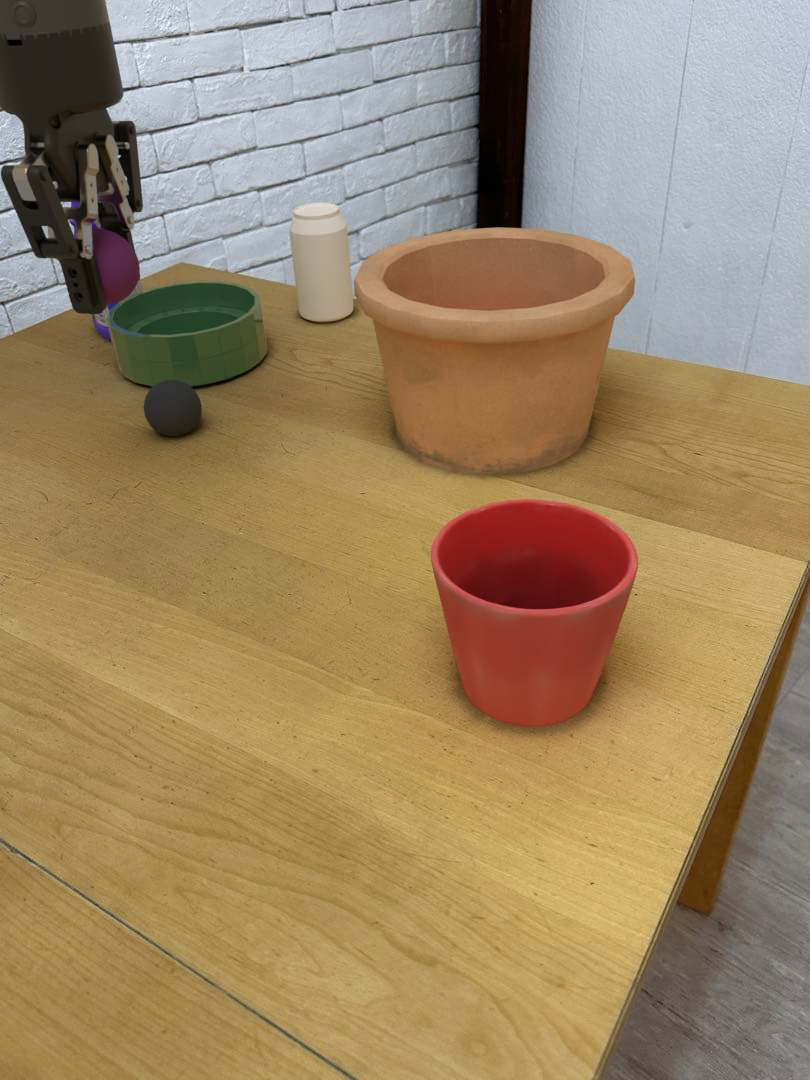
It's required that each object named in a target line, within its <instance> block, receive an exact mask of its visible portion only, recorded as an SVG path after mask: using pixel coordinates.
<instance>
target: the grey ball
mask: <svg viewBox="0 0 810 1080" xmlns="http://www.w3.org/2000/svg"><path fill="white" fill-rule="evenodd" d="M143 401H144V402H143V413H144V417H145V419H146V421H147V423H148V425H149V426H150V427H151V428H152V429H153V430H154V431H155V432H157V433H159V434H160V435H163V436H166V437H171V438H172V437H173V438H174V437H182V436H184V435H187V434H189V433H190V432H192V431H193V430H194V429H195V428H196V427H197V425H198V424H199V422H200V420H201V417H202V413H203V406H202V401H201V398H200V396H199V394H198V393H197V391H196V390H195V388H193V386H189V385H188V384H186V383H184V382H182V381H178V380H165V381H162V382H159V383H157V384H156V385H154V386H151V388H150V389H149V390H148V392H147V394H146V395H145V398H144V400H143Z"/></svg>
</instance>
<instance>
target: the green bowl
mask: <svg viewBox="0 0 810 1080" xmlns="http://www.w3.org/2000/svg"><path fill="white" fill-rule="evenodd" d="M106 320H107V324H108V329H109V333H110V337H111V341H110V342H111V344H112V348H113V352H114V357H115V360H116V364H117V368H118V370H119V371H120V373H121V375H122V376H123V377H124V378H125V379H128V380H129V381H131V382H133V383H135V384H140V385H144V386H150V387H153V386H154V385H156V384H157V383H159V382H162V381H165V380H178V381H182V382H184V383H186V384H188V385H189V386H191V387H196V386H197V387H198V386H205V385H209V384H214V383H217V382H222V381H227V380H229V379H231V378H234V377H236V376H238V375H241V374H244V373H246V372H248V371H249V370H251V369H253V367H255V366H257V365H258V364H259V363H261V362H262V361H263V359H264V358H265V356H266V355H267V354H268V341H267V334H266V333H267V332H266V326H265V321H264V320H265V319H264V312H263V305H262V298H261V295H260V294H259V293H258V292H256V291H255V289H253V288H251V287H249V286H246V285H244V284H240V283H236V282H235V283H234V282H228V281H221V280H195V281H194V280H193V281H184V282H177V283H170V284H165V285H161V286H156V287H152V288H149V289H146V290H143V291H142V292H139V293H136V294H134V295H132V296H130V297H128V298H126V299H124V300H122V301H120V302H118V303H117V304H116V305H115V306H114V307H113V308H111V309H110V310H109V313H108V316H107V319H106Z"/></svg>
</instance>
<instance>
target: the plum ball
mask: <svg viewBox="0 0 810 1080" xmlns="http://www.w3.org/2000/svg"><path fill="white" fill-rule="evenodd" d="M92 237H93V256H95V257H96V260H97V264H98V269H99V273H100V277H101V281H102V285H103V290H104V294H105V298H106V302H107V305H108V304H114V303H118V302H120V301H122V300H124V299H125V298H127V297H128V296H129V295H130V294H131V293H132V292H133V290H134V289H135V287H136V285H137V283H138V279H139V274H140V275H141V271H140V269H141V268H140V267H141V266H140V261H139V258H138V255H137V252H136V250H135V251H134V249H133V248H132V246H131V245H130V244H129V243H128V242H127V241H126V240H125V239H124V238H123V237H121V236H120V235H118V234H116V233H114V232H112V231H109V230H105V229H92ZM75 239H77V238H76V237H75Z"/></svg>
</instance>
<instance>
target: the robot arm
mask: <svg viewBox="0 0 810 1080" xmlns="http://www.w3.org/2000/svg"><path fill="white" fill-rule="evenodd" d="M106 1H107V0H0V109H1V110H2V111H3V112H5V113H6V114H8V115H12V116H13V115H14V116H15V117H17V118H18V119H19V120H20V121H21V123H22V128H23V137H24V138H23V139H24V142H23V143H24V144H23V145H24V148H23V149H24V153H25V157H24V158H23V159H22V160H21V161H20V162H19V163H18V164H4V165H3V166H2V167H1V168H0V169H1V170H0V178H1V181H2V183H3V185H4V188H5V191H6V192H7V195H8V197H9V199H10V202H11V205H12V207H13V208H14V211H15V213H16V215H17V218H18V220H19V222H20V225H21V227H22V229H23V232H24V234H25V236H26V238H27V240H28V241H27V242H28V243H29V246H30V247H31V250H32V252H33V255H34V256H35V258H37V259H55V260H57V261H58V262H59V264H60V267H61V271H62V275H63V278H64V283H65V287H66V290H67V293H68V298H69V302H70V304H71V307H72V310H74V312H76V313H77V314H79V315H82V314H83V315H84V314H85V315H92V314H100V313H101V312H103V311H104V310H105V309H106V308H107V302H106V298H105V294H104V290H103V285H102V281H101V277H100V273H99V269H98V264H97V260H96V257H95V256H93V237H92V223H93V222H95V224H96V226H97V227H98V228H99V229H105V230H109V231H112V232H114V233H116V234H118V235H120V236H121V237H123V238H124V239H125V240H126V241H127V242H128V243H129V244H130V245H131V246H132V248H133V249H134V251H135V252H136V249H135V245H134V239H133V236H132V235H133V234H132V230H133V229H134V227H135V222H136V221H135V216H134V214H135V213H142V211H143V210H144V200H143V191H142V190H143V189H142V180H141V169H140V160H139V157H140V156H139V149H138V148H139V147H138V137H137V128H136V125H135V122H133V120H112V118H111V116H110V113H109V112H108V109H109V108H111V107H113V106H116V105H118V104H119V103H120V102H121V101H122V100H123V98H124V86H123V82H122V77H121V71H120V67H119V62H118V55H117V52H116V46H115V41H114V37H113V36H114V35H113V31H112V26H111V21H110V17H109V12H108V6H107V2H106ZM118 156H119V157H118ZM71 202H80V204H79V205H78V206H77V207H71V206H63V205H62V203H71ZM103 203H104V205H103ZM69 220H73V221H74V222H75V224H76V238H77V239H75V237H74V231H73V229H72V227H71V224H70V222H69ZM43 227H47V236H48V237H47V236H46V233H45V231H44V229H43ZM139 280H141V273H140V274H139V279H138V281H139Z"/></svg>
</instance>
